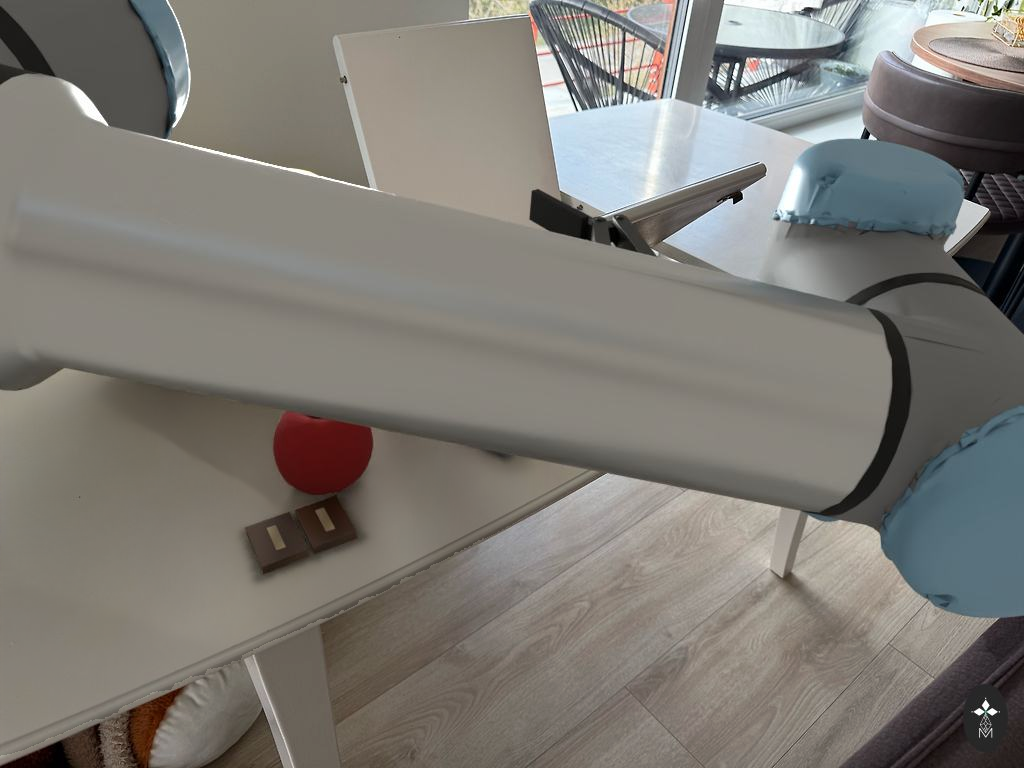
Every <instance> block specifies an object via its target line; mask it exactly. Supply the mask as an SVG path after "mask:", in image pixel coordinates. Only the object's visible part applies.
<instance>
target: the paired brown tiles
mask: <svg viewBox="0 0 1024 768" xmlns="http://www.w3.org/2000/svg"><path fill="white" fill-rule="evenodd" d="M292 515H293V514H292V513H291V511H287V512H284V513H282V514H278V515H275V516H273V517H270V518H267V519H264V520H262V521H258V522H256V523H253V524H250V525H247V526H245V527H244V529H245V534H246V537H247V539H248V542H249V544H250V546H251V549H252V552H253V553H254V556H255V558H256V561H257V563H258V565H259V568H260V571H261V572H262V574H263V575H266V574H269V573H271V572H274V571H277V570H279V569H281V568H283V567H286V566H287V567H288V566H289V565H292V564H294V563H297V562H300V561H302V560H305V559H307V558H309V557H310V551H309V548H310V549H311V552H312V553H313V555H317V554H320V553H322V552H325V551H327V550H329V549H332V548H335V547H338V546H340V545H343V544H345V543H347V542H350V541H353V540H355V539H358V531H357V529H356V527H355V525H354V523H353V521H352V520H351V518H350V517H349V515H348V512H347V511H346V509H345V507H344V506H343V504H342V502H341V501H340V498H339V497H338V495H337V494H334V495H332V496H329V497H325V498H323V499H320V500H318V501H315V502H311V503H309V504H306V505H304V506H301V507H298V508H295V509H294V516H295V519H296V521H297V523H298V525H299V527H300V529H301V531H302V533H303V535H304V537H305V539H306V541H307V543H308V545H309V548H308V545H307V543H306V541H305V539H304V538H303V535H302V533H301V532H300V529H299V527H298V525H297V523H296V522H295V519H294V517H293V516H292Z"/></svg>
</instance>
